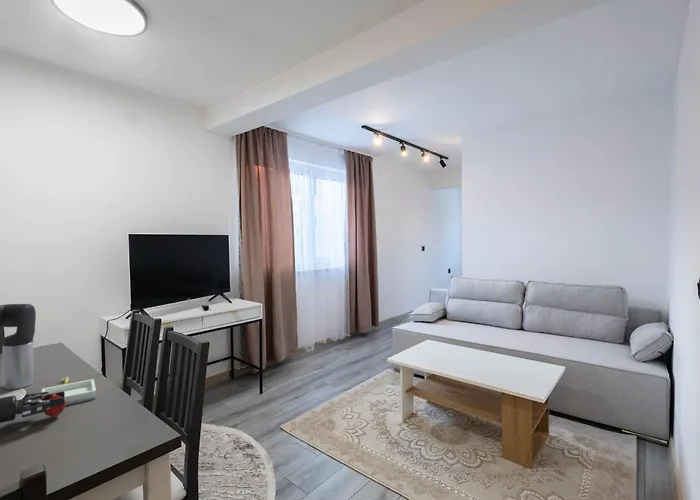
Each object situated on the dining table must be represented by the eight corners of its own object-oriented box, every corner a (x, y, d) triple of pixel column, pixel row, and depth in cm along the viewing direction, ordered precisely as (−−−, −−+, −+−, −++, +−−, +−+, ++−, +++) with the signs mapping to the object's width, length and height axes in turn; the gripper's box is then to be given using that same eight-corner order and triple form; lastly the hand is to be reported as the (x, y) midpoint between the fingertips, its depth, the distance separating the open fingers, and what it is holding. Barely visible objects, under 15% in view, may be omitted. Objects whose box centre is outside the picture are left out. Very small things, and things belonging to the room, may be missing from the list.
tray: (42, 396, 136) (42, 388, 136) (93, 386, 146) (93, 379, 146) (40, 410, 125) (40, 402, 125) (96, 398, 135) (96, 390, 135)
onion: (51, 413, 124) (51, 390, 123) (69, 412, 124) (69, 390, 124) (38, 421, 118) (38, 397, 118) (57, 421, 118) (57, 397, 118)
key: (68, 380, 153) (68, 375, 152) (78, 388, 145) (78, 383, 145) (46, 386, 147) (46, 381, 147) (56, 394, 139) (56, 389, 139)
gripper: (-9, 408, 106) (64, 393, 117) (-2, 391, 117) (64, 379, 128) (-9, 433, 106) (64, 416, 117) (-2, 414, 118) (64, 400, 128)
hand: (64, 397), depth 122 cm, fingers closed on onion, 5 cm apart
